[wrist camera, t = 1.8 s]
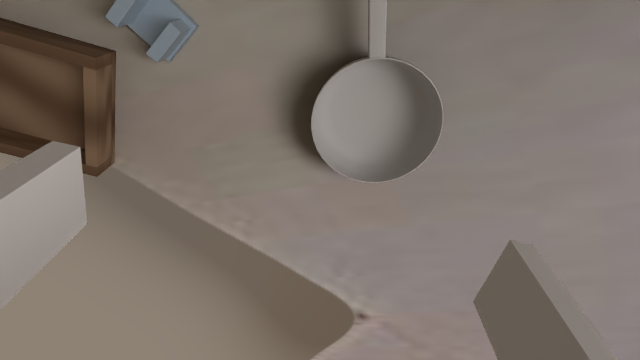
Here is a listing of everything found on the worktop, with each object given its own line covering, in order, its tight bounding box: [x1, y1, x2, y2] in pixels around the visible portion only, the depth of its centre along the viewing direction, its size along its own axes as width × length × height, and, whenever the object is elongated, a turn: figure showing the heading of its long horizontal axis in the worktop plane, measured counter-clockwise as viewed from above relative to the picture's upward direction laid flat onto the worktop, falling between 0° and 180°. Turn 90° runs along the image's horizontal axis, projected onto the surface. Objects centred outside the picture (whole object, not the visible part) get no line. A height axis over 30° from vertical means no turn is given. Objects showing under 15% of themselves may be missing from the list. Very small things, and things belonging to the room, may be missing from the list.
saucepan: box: [311, 0, 444, 183], centre depth 30 cm, size 11×18×4 cm, turn 4°
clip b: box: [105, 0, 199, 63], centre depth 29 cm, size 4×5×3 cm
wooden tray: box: [0, 18, 116, 177], centre depth 32 cm, size 11×11×3 cm
